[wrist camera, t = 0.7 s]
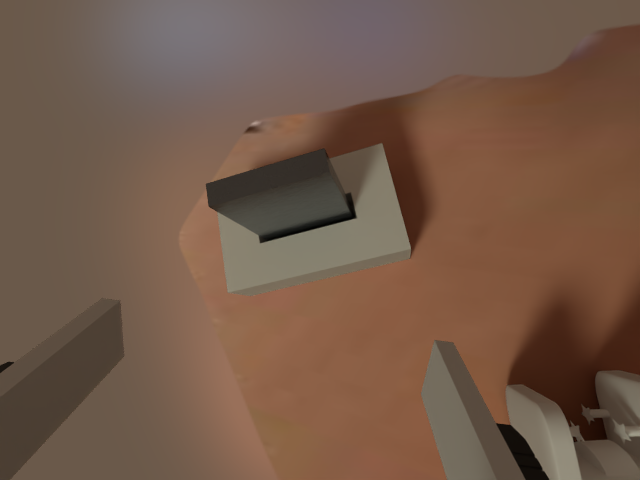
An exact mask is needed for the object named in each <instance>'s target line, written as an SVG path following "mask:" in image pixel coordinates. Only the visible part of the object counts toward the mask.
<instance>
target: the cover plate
mask: <svg viewBox="0 0 640 480" xmlns="http://www.w3.org/2000/svg"><path fill="white" fill-rule="evenodd" d="M206 189H207V197H208V205H209V207H210V208H212V209H214V210H215V211H217V212H219V213H220V214H222V215H224V216H226V217H227V218H229V219H231V220H233V221H234V222H236V223H238V224H240V225H241V226H243V227H245V228H247V229H248V230H250V231H252V232H254V233H255V234H257V235H259V236H260V237H262V238H264V239H266V240H267V241H272V240H275V239H279V238H283V237H287V236H291V235H295V234H298V233H302V232H306V231H310V230H314V229H318V228H321V227H325V226H329V225H333V224H337V223H341V222H344V221H348V220H352V219H355V216H354V212H353V209H352V207H351V205H350V202H349V200H348V198H347V196H346V194H345V192H344V189H343V187H342V185H341V183H340V181H339V179H338V176H337V174H336V172H335V170H334V168H333V166H332V163H331V161H330V159H329V157H328V155H327V153H326V150H325V148H324V149H320V150H317V151H314V152H310V153H307V154H304V155H300V156H297V157H294V158H290V159H287V160H284V161H280V162H277V163H274V164H270V165H267V166H264V167H260V168H257V169H254V170H250V171H247V172H244V173H240V174H237V175H234V176H230V177H227V178H224V179H220V180H217V181H214V182H210V183H207V184H206Z"/></svg>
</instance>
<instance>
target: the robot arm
mask: <svg viewBox="0 0 640 480" xmlns="http://www.w3.org/2000/svg"><path fill="white" fill-rule="evenodd" d="M123 357H124V347H123V333H122V319H121V304H120V301H119V300H112V299H104V298H102V299H100V300H99V301H98V302H96V303H95V304H94V305H92V306H91V307H90V308H88V309H87V310H86V311H84V312H83V313H81V314H80V315H79V316H77V317H76V318H75V319H73V320H72V321H71V322H69V323H68V324H66V325H65V326H64V327H62V328H61V329H60V330H58V331H57V332H56V333H54V334H53V335H52V336H50V337H49V338H47V339H46V340H45V341H43V342H42V343H41V344H39V345H38V346H37V347H35V348H34V349H32V350H31V351H30V352H28V353H27V354H26V355H24V356H23V357H22V358H20V359H19V360H17V361H16V362H15V363H14V362H7V363H5V364H3V365H1V366H0V480H10V479H11V478H12V477H13V476H14V475H15V474H16V473H17V472H18V470H20V469H21V467H22V466H23V465H24V464H25V463H26V462H27V461H28V460H29V459H30V458H31V456H32V455H33V454H34V453H35V452H36V451H37V450H38V449H39V448H40V447H41V446H42V445H43V444H44V443H45V441H46V440H47V439H48V438H49V437H50V436H51V435H52V434H53V433H54V432H55V431H56V430H57V428H58V427H59V426H60V425H61V424H62V423H63V422H64V421H65V420H66V419H67V418H68V417H69V415H70V414H71V413H72V412H73V411H74V410H75V409H76V408H77V407H78V406H79V405H80V404H81V403H82V401H83V400H84V399H85V398H86V397H87V396H88V395H89V394H90V393H91V392H92V391H93V390H94V388H95V387H96V386H97V385H98V384H99V383H100V382H101V381H102V380H103V379H104V378H105V377H106V375H107V374H108V373H109V372H110V371H111V370H112V369H113V368H114V367H115V366H116V365H117V364H118V362H119V361H120V360H121V359H122V358H123ZM421 396H422V399H423V402H424V405H425V409H426V412H427V415H428V418H429V422H430V425H431V428H432V431H433V435H434V438H435V441H436V444H437V448H438V451H439V454H440V458H441V461H442V464H443V467H444V471H445V474H446V477H447V480H549V478H548V476H547V475H546V473H545V471H543V470H542V466H541V465H540V463H539V461H538V459H537V458H535V454H534V453H533V451H532V449H531V448H530V446H529V444H528V443H527V441H526V439H525V438H524V437H523V436H522V435H521V434H520V433H519V432H518V431H517V430H516V429H515V428H514V427H513V426H512V425H505V424H497V423H495V421H494V419H493V417H492V415H491V413H490V411H489V410H488V408H487V406H486V404H485V402H484V400H483V398H482V396H481V394H480V393H479V391H478V389H477V387H476V385H475V383H474V381H473V379H472V377H471V375H470V374H469V372H468V370H467V368H466V366H465V364H464V362H463V360H462V358H461V357H460V355H459V353H458V351H457V349H456V347H455V345H454V343H453V342H445V341H437V340H434V344H433V348H432V352H431V356H430V360H429V364H428V368H427V372H426V376H425V380H424V384H423V388H422V392H421Z"/></svg>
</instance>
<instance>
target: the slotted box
mask: <svg viewBox="0 0 640 480" xmlns="http://www.w3.org/2000/svg"><path fill="white" fill-rule="evenodd" d="M330 161H331V163H332V166H333V168H334V170H335V172H336V174H337V176H338V179H339V181H340V183H341V185H342V187H343V189H344V192H345V194H346V196H347V198H348V200H349V202H350V205H351V207H352V209H353V212H354V216H355V219H352V220H348V221H344V222H341V223H337V224H333V225H329V226H325V227H321V228H318V229H314V230H310V231H306V232H302V233H298V234H295V235H291V236H287V237H283V238H279V239H275V240H272V241H267V240H266V239H264V238H262V237H260V236H259V235H257V234H255V233H254V232H252V231H250V230H248V229H247V228H245V227H243V226H241V225H240V224H238V223H236V222H234V221H233V220H231V219H229V218H227V217H226V216H224V215H222V214H220V213H219V212H217V213H218V221H219V229H220V236H221V244H222V252H223V259H224V267H225V275H226V282H227V290H228V293H233V294H240V295H247V296H253V295H257V294H261V293H266V292H270V291H274V290H278V289H283V288H287V287H291V286H295V285H300V284H304V283H308V282H313V281H317V280H321V279H325V278H330V277H334V276H338V275H342V274H347V273H351V272H355V271H359V270H364V269H368V268H372V267H377V266H381V265H385V264H389V263H394V262H398V261H402V260H406V259H410V255H411V246H410V243H409V239H408V236H407V232H406V228H405V225H404V221H403V217H402V214H401V210H400V206H399V203H398V199H397V195H396V192H395V188H394V184H393V181H392V177H391V174H390V170H389V166H388V163H387V159H386V155H385V152H384V148H383V144H382V143H381V144H377V145H374V146H370V147H367V148H364V149H360V150H357V151H353V152H350V153H347V154H343V155H340V156H336V157H333V158H330Z"/></svg>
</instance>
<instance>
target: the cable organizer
mask: <svg viewBox="0 0 640 480" xmlns="http://www.w3.org/2000/svg"><path fill="white" fill-rule="evenodd" d="M595 389H596V394H597V398H598V402H599V407H600V409H589V407H588V408H585V407H584V406H583V405H582V404H581V405H582V408H583V412H582V413H581V414H582V415H583V416H585V417H586V419H587V421H588V423H589V425H590V420H592V421H594V419H593V418H602V419H603V423H604V427H605V431H606V435H607V439H608V440H592V441H584V439H583V437H582V436H581V434H580V430H579V425H577V426H574V424H573V423H572V422H571V421H570V422H571V425H572V427H569V425H568V422H567V420H566V418H565V416H564V414H563V412H562V410H561V408H560V407H559V406H558V405H557V403H555V402H554V401H552V400H550V399H548V398H546V397H544V396H543V395H541V394H539V393H537V392H535V391H534V390H532V389H530V388H528V387H526V386H525V385H523V384H519V385H507V387H506V403H507V409H508V414H509V419H510V425H512V426H513V427H514V428H515V429H516V430H517V431H518V432H519V433H520V434H521V435H522V436H523V437H524V438H525V439H526V441H527V443H528V444H529V446H530V448H531V449H532V451H533V453H534V454H535V458H537V459H538V461H539V463H540V465H541V466H542V470H543V471H545V473H546V475H547V476H548V478H549V480H640V375H637V374H633V373H629V372H625V371H620V370H611V371H599V372H597V374H596V377H595ZM573 437H576V439H577V442H574V441H573ZM580 440H582V441H580Z"/></svg>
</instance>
